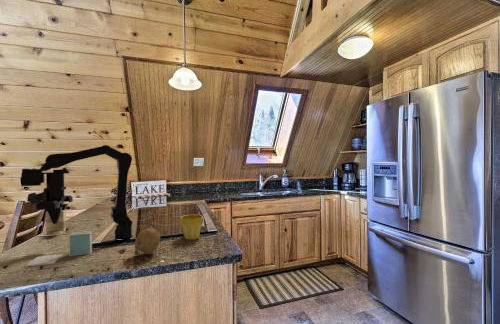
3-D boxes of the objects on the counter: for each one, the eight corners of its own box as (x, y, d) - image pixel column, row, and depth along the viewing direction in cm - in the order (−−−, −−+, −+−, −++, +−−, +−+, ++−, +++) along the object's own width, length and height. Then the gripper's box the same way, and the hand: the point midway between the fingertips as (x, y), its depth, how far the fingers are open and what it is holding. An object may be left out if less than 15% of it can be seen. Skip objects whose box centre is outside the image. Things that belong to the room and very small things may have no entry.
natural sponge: (134, 260, 91) (134, 233, 91) (135, 252, 99) (134, 227, 99) (161, 256, 94) (160, 230, 94) (159, 248, 103) (159, 224, 103)
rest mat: (62, 255, 96) (62, 254, 96) (53, 263, 88) (53, 262, 88) (37, 258, 94) (37, 256, 94) (25, 266, 86) (25, 265, 86)
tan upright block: (67, 230, 105) (66, 209, 105) (62, 234, 101) (61, 211, 100) (50, 232, 103) (49, 210, 103) (44, 235, 99) (43, 212, 99)
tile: (91, 251, 100) (91, 231, 100) (90, 253, 98) (90, 233, 98) (71, 253, 98) (71, 233, 98) (69, 255, 96) (69, 235, 96)
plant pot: (201, 233, 124) (201, 213, 124) (204, 239, 114) (204, 218, 114) (180, 235, 121) (179, 215, 121) (181, 242, 111) (181, 220, 111)
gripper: (42, 183, 108) (43, 219, 108) (17, 188, 90) (18, 231, 91) (72, 182, 112) (73, 217, 112) (54, 187, 94) (54, 228, 94)
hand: (56, 223), depth 102 cm, fingers closed on tan upright block
